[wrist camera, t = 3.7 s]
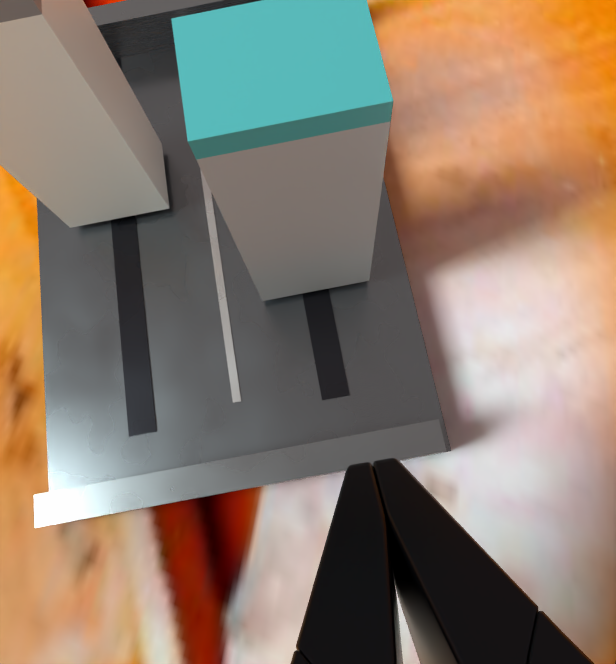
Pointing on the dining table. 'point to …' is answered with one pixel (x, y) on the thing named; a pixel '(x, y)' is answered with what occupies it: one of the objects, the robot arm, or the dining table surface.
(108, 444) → the console
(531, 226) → the dining table surface
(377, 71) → the fader turquoise
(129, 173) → the fader white
